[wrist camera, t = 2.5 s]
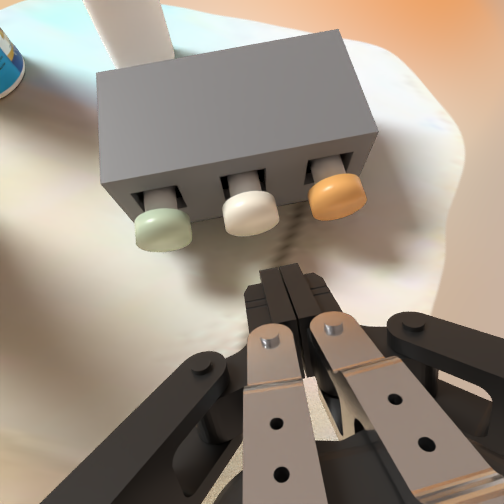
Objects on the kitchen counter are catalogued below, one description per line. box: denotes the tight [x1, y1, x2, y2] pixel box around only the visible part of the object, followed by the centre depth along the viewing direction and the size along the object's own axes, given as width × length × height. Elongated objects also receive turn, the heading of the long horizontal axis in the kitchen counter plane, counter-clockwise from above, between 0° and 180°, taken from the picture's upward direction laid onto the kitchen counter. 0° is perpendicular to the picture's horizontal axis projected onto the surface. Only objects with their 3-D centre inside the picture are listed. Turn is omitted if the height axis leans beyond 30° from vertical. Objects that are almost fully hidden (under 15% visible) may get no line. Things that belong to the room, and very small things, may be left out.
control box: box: [96, 29, 379, 223], centre depth 29 cm, size 19×10×8 cm, turn 101°
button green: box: [134, 185, 192, 252], centre depth 26 cm, size 4×5×4 cm
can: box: [82, 0, 175, 69], centre depth 32 cm, size 6×6×12 cm
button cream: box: [222, 170, 279, 236], centre depth 26 cm, size 4×5×4 cm
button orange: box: [307, 154, 367, 221], centre depth 27 cm, size 4×5×4 cm
